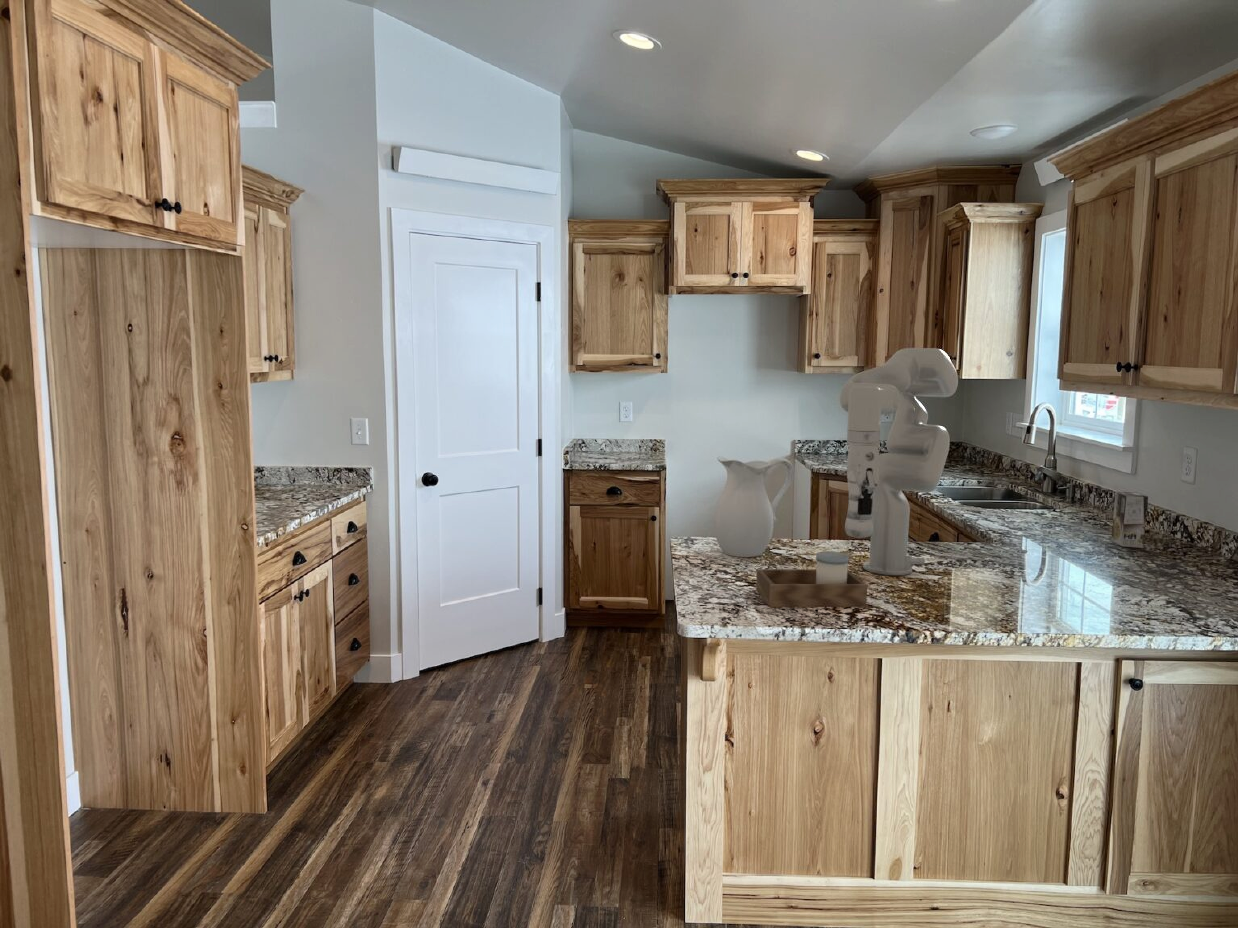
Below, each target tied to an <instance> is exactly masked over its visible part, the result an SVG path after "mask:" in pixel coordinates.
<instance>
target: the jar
mask: <svg viewBox="0 0 1238 928" xmlns="http://www.w3.org/2000/svg"><path fill="white" fill-rule="evenodd" d="M815 560H816V568H815V569H816V584H847V570H848V571H849V569H848V566H849V562H850V555H849V554H847V553H845V552H844V553H843V552H839V551H829V550H828V551H826V550H824V551H819V552H817V553H816V554H815Z"/></svg>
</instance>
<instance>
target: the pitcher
mask: <svg viewBox="0 0 1238 928" xmlns="http://www.w3.org/2000/svg"><path fill="white" fill-rule="evenodd" d="M717 460H718V463H720V464H721V465H722V466H723V467H724V468H725V470H726V473H727V474H726V475H727V478H726V481H725V484H724V487H723V490H722V492H721V495H720V496H719V499H718V502H717V504H716V508H715V511H714V516H713V517H714V519H713V530H714V535H715V538H716V542H717V544H718V546H719V547H720V549H721V551H722V553H724V554H725V555H728V556H730V557H735V558H736V557H737V558H754V557H760V556H761V555H762V554H763V553H764V552H765V551H766V549H767V547H768V546H769V544H770V542H771V539H772V537H773V532H774V523H776V522H777V521H778V520H777V518H776V514H775V511H776V508H777V506H778V505H779V503H780V501H782V499H783V497H784V496H785V494H786V492H787V491H788V490H789V488H790V486H791V485H792V483H793V481H794V477H795V468H794V466H793V464H792V462H791V461H790V460H788V459H786V458H783V457H780V458H779V457H778V458H774V459H772V460H770V461H764V460H751V461H747V462H743V461H740V460H736V459H728V458H726V457H724V456H718V457H717ZM781 464H782V465H784V466H785V468H786V477H785V481H784V483H783V485H782V487H781V488H780V490H779V491H778V493H777V494H776V496H775V497H774V499H773V500H772V502H771V501H770V499H769V496H768V492H767V490H766V487H765V483H764V478H767V477H768V473H769V471H770V470H771V469H772V468H773V467H775V466H777V465H781Z"/></svg>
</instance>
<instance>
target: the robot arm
mask: <svg viewBox="0 0 1238 928" xmlns="http://www.w3.org/2000/svg"><path fill="white" fill-rule="evenodd" d="M958 384H959V377H958V372H957V369H956V368H955V366H954V364H953V362H952V360H951V359H950V356H948V354H947V352H945V351H944V350H942V349H941V348H935V347H932V348H931V347H926V348H925V347H906V348H901V349H899V350H897V351H896V352H895V353H894V354H892V356H891V357H890V358H889V359H888V360H887V361H886V362H885V363H884V364H883V365H880V366H876V367H872V368H871V369H866V370H864V371H861V372H859V373H856V374H853V376H851V377H850V378H849V379H848V380H847V381H846V382H845V383H844V385H843V386H842V389H841V391H840V393H839V403H840V407H841V408H842V410H844V411H845V412H847V431H846V433H847V434H846V443H847V444H848V452H847V453H848V454H847V462H846V463H847V464H846V478H847V479H848V474H849V473H850V471H851V470H852V471H853V473H854V475H855V478H856V484H857V485H858V486H859V493H860V498H858V514H859V515H871V510H872V520H873V531H872V534H871V535H870V545H869V546H870V547H869V559H868V560H866V561H863V564H862V568H863V569H864V570H866V571H867V572H870V573H873V574H879V575H884V576H885V575H886V576H904V575H909V574H912V572H913V567H912V566H913V565H914V564H917V565H924V564H925V563H926V559H925V557H924V556H916V555H911V554H909V553H908V544H909V543H908V542H909V528H910V514H911V513H910V511H911V507H910V503H909V501H908V499H907V497H906V496H905V493H904V492H903V491H909V492H915V493H932V492H934V491H935V490H937V488H938V486H939V484H940V481H941V478H942V475H943V472H944V469H945V464H946V462H947V459H948V458H947V457H948V455H949V451H950V441H951V440H950V434H949V432H948V430H947V429H946V428H945V427H944V426H941V425H939V424H927V423H928V420H929V414H928V411H927V409H926V408H925V407H924V405H923V404H922V403H921V402H920V401H919V400H918V399H917V398H916V397H929V398H930V397H933V398H948V397H951V396H953V395H954V394H955V393H956V391H957V388H958V387H959V385H958ZM893 413H895V416H894V418H893V422H892V424H891V426H890V430H889V432H888V436H887V438H886V450H887V452H885V453H880V451H879V445H880V441H881V440H880V439H881V437H880V436H881V421H882V419H881V418H882V417H881V416H883V415H884V416H885V415H886V416H887V415H892V414H893ZM868 456H869V457H868ZM863 482H867V485H862V484H863ZM863 488H867V489H865V490H864V492H863ZM873 490H874V491H873Z"/></svg>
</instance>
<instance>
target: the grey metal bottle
mask: <svg viewBox="0 0 1238 928" xmlns="http://www.w3.org/2000/svg"><path fill="white" fill-rule="evenodd" d="M868 457H869V456H868ZM862 485H867V482H863V484H862ZM847 489H848V508H847V512H846V513H847V514H846V519H845V522H844V523H845V524H844V531H845V534H846V535H847V536H849V537H852V538H856V539H864V538H865V539H866V538H869V537H870V538H871V534H872V531H873V520H872V510H871V515H859V514H858V498H860V493H859V486H858V485H857V484H856V478H855V475H854V473H853V471H852V470H851V471H850V473H849V474H848V478H847ZM865 489H867V488H863V492H864V490H865ZM873 491H874V490H873Z"/></svg>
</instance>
